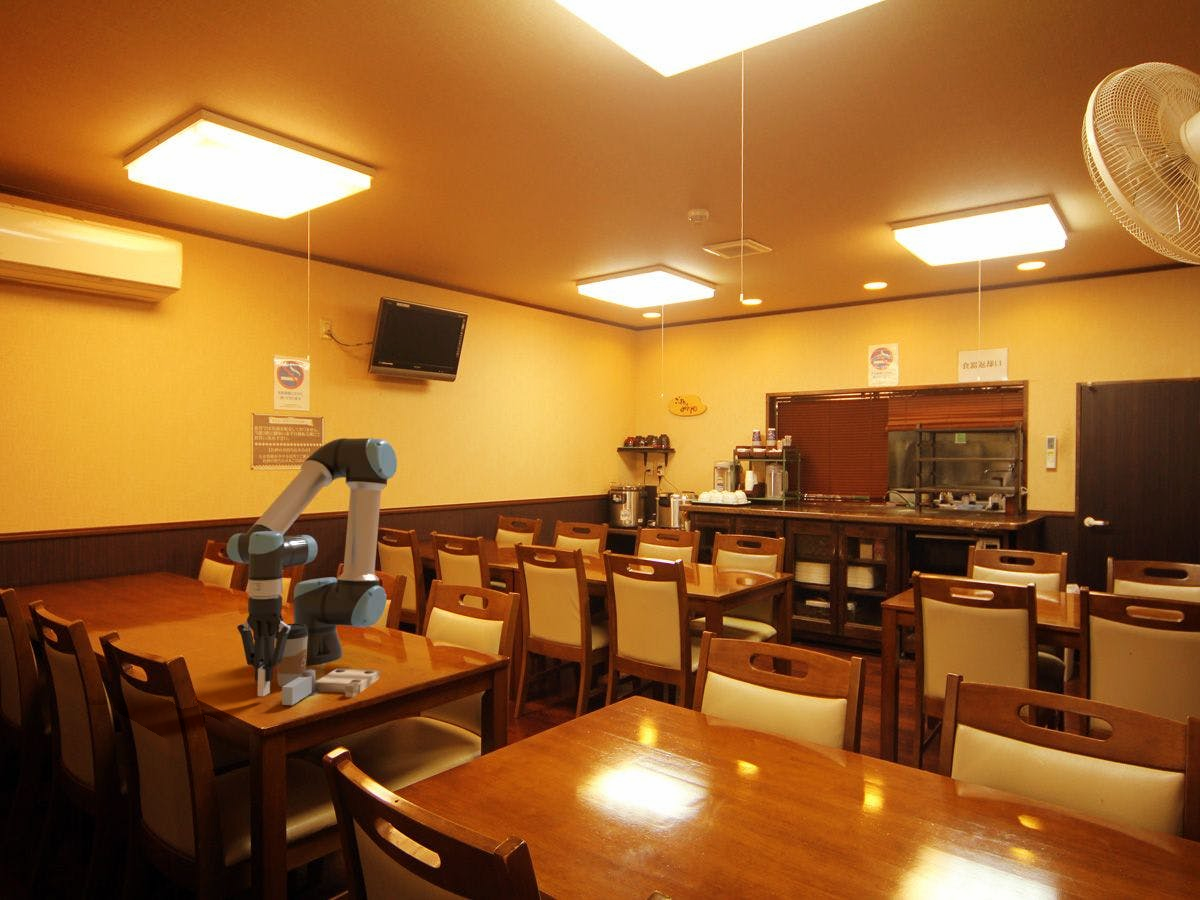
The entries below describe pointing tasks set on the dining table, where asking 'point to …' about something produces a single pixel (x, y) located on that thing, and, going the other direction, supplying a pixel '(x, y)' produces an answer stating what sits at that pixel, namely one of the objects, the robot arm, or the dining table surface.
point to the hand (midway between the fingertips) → (263, 694)
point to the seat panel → (346, 681)
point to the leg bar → (299, 688)
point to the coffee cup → (293, 654)
